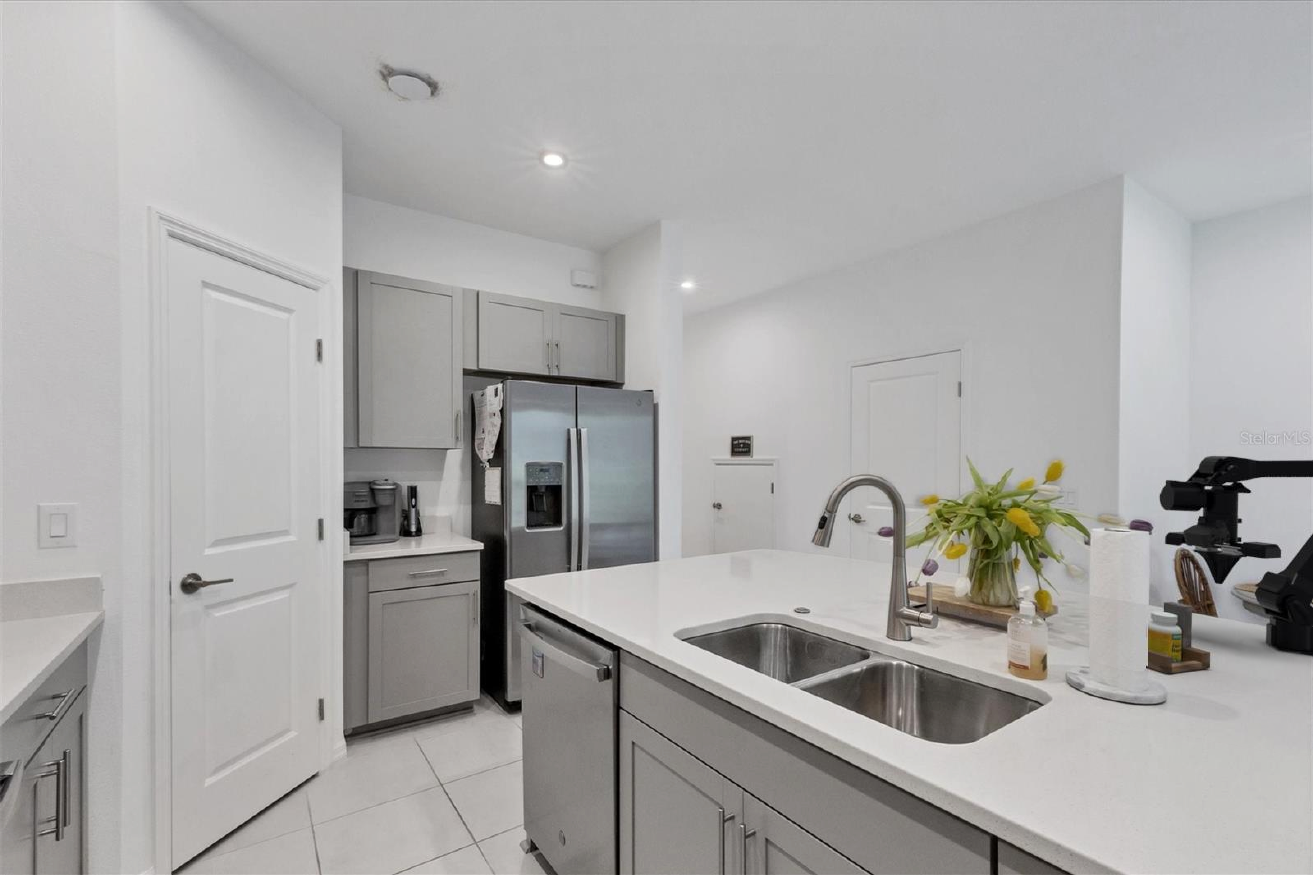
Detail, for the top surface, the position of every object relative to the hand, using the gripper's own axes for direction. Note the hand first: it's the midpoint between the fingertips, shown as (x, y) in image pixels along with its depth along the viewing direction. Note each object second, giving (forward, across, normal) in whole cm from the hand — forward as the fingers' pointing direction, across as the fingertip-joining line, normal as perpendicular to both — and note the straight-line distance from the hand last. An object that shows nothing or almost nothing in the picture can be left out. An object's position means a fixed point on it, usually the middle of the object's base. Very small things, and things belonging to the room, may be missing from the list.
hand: (1218, 583), depth 135 cm
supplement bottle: (+13, +6, -26) cm, 30 cm away
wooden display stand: (+13, +6, -27) cm, 30 cm away
